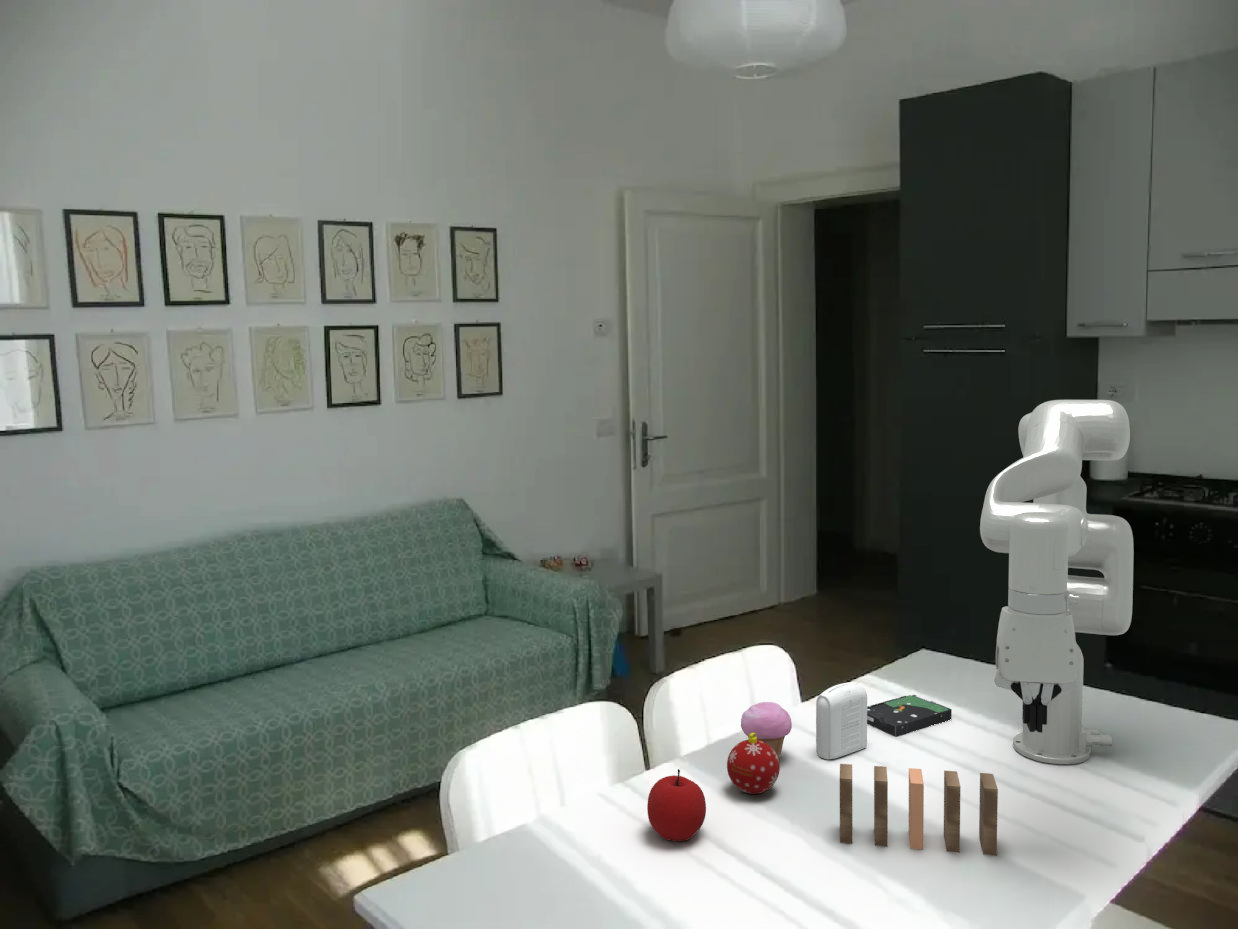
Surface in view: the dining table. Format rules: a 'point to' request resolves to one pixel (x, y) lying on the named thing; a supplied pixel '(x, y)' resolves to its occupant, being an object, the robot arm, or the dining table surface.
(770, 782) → the christmas ornament
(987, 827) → the domino
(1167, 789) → the dining table surface
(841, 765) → the domino
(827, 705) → the photo printer
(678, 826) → the apple
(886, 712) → the disk drive
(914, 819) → the domino
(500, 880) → the dining table surface
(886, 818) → the domino
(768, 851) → the dining table surface
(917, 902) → the dining table surface
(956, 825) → the domino
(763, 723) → the cupcake
